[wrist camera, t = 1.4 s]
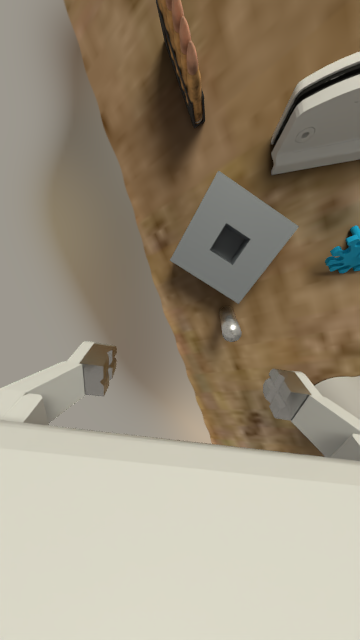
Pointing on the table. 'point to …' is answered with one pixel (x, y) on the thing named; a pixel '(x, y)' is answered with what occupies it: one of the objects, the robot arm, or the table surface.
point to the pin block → (232, 238)
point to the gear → (346, 254)
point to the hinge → (320, 119)
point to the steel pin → (229, 324)
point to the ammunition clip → (182, 56)
